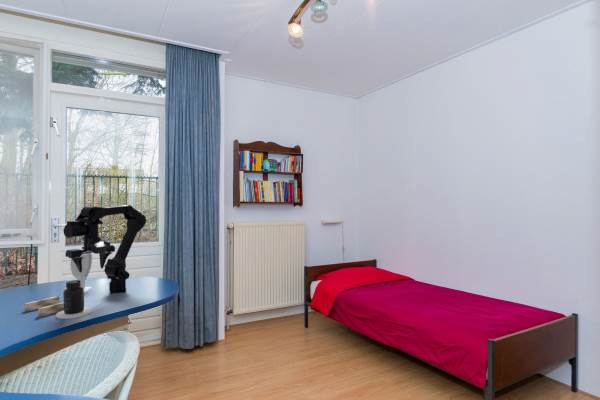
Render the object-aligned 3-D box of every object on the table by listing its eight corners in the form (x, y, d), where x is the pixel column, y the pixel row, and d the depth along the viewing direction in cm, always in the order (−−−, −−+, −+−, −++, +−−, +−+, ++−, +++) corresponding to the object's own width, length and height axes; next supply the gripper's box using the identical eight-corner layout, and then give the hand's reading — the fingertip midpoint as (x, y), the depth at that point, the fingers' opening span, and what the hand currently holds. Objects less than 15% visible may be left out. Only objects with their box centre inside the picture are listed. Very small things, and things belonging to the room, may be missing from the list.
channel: (57, 302, 152) (57, 295, 152) (73, 307, 145) (73, 300, 145) (24, 311, 141) (24, 303, 141) (39, 316, 135) (39, 309, 135)
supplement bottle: (75, 308, 143) (75, 278, 143) (88, 309, 141) (88, 280, 141) (59, 313, 137) (58, 282, 136) (72, 315, 135) (71, 284, 134)
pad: (93, 306, 147) (93, 305, 147) (90, 316, 136) (90, 314, 136) (59, 310, 142) (59, 309, 142) (52, 320, 131) (52, 319, 131)
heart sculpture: (81, 294, 163) (80, 256, 163) (69, 295, 162) (68, 256, 162) (94, 285, 178) (93, 250, 178) (83, 286, 178) (82, 250, 177)
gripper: (78, 238, 143) (79, 277, 144) (122, 234, 159) (122, 268, 160) (64, 236, 149) (65, 273, 150) (107, 232, 165) (108, 265, 166)
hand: (91, 270), depth 156 cm, fingers open, 9 cm apart
